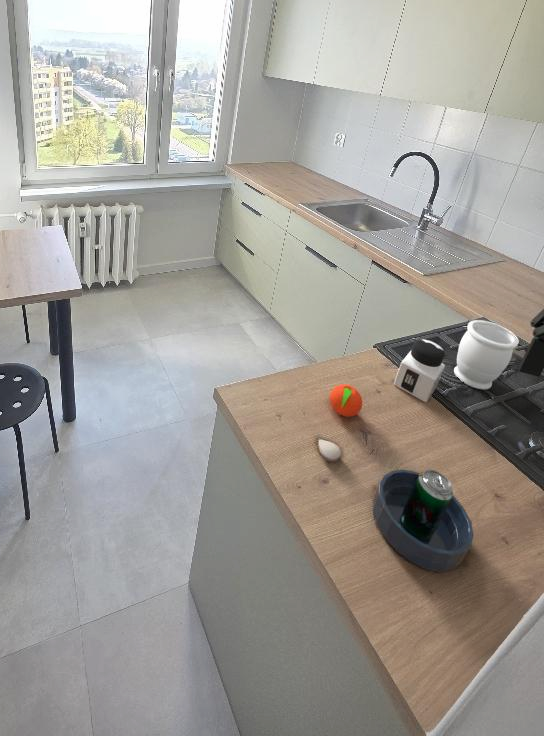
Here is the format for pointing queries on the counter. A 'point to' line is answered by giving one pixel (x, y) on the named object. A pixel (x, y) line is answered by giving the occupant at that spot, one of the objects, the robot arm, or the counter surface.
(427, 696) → the counter surface
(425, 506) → the soda can
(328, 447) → the garlic clove
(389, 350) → the counter surface
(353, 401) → the clementine
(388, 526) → the bowl
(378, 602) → the counter surface
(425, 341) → the container
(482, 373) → the jar
